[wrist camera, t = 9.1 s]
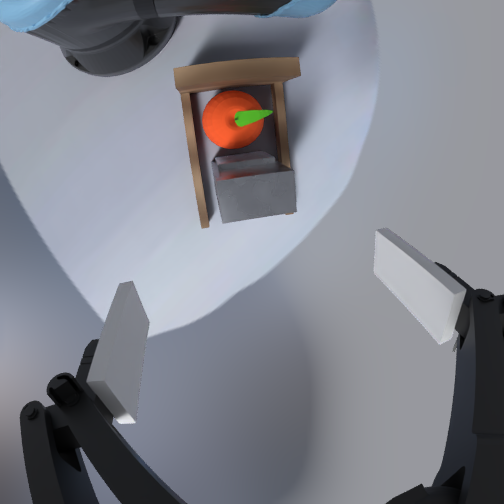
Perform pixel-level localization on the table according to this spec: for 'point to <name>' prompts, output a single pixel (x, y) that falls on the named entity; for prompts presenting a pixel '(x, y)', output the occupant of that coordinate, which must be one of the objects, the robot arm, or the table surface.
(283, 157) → the frame
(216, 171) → the block
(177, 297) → the table surface
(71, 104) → the table surface
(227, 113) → the clementine
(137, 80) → the table surface
